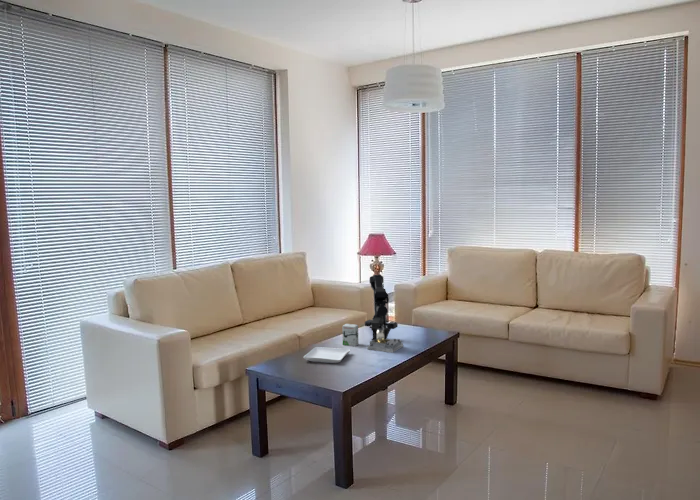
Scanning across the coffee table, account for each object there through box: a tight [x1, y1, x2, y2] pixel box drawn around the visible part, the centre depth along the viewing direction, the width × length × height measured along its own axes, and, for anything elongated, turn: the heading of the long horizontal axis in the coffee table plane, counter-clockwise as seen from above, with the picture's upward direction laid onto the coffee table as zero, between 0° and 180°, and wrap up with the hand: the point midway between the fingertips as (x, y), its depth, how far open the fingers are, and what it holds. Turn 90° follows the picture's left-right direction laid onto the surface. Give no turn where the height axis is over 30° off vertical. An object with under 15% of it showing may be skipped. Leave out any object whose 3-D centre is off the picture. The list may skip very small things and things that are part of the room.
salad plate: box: [302, 346, 352, 364], centre depth 296 cm, size 21×21×3 cm
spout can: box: [376, 326, 386, 343], centre depth 313 cm, size 6×6×8 cm
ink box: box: [341, 323, 359, 347], centre depth 321 cm, size 9×5×12 cm, turn 68°
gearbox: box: [366, 338, 404, 354], centre depth 312 cm, size 16×14×5 cm
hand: (381, 338), depth 313 cm, fingers closed on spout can, 5 cm apart
